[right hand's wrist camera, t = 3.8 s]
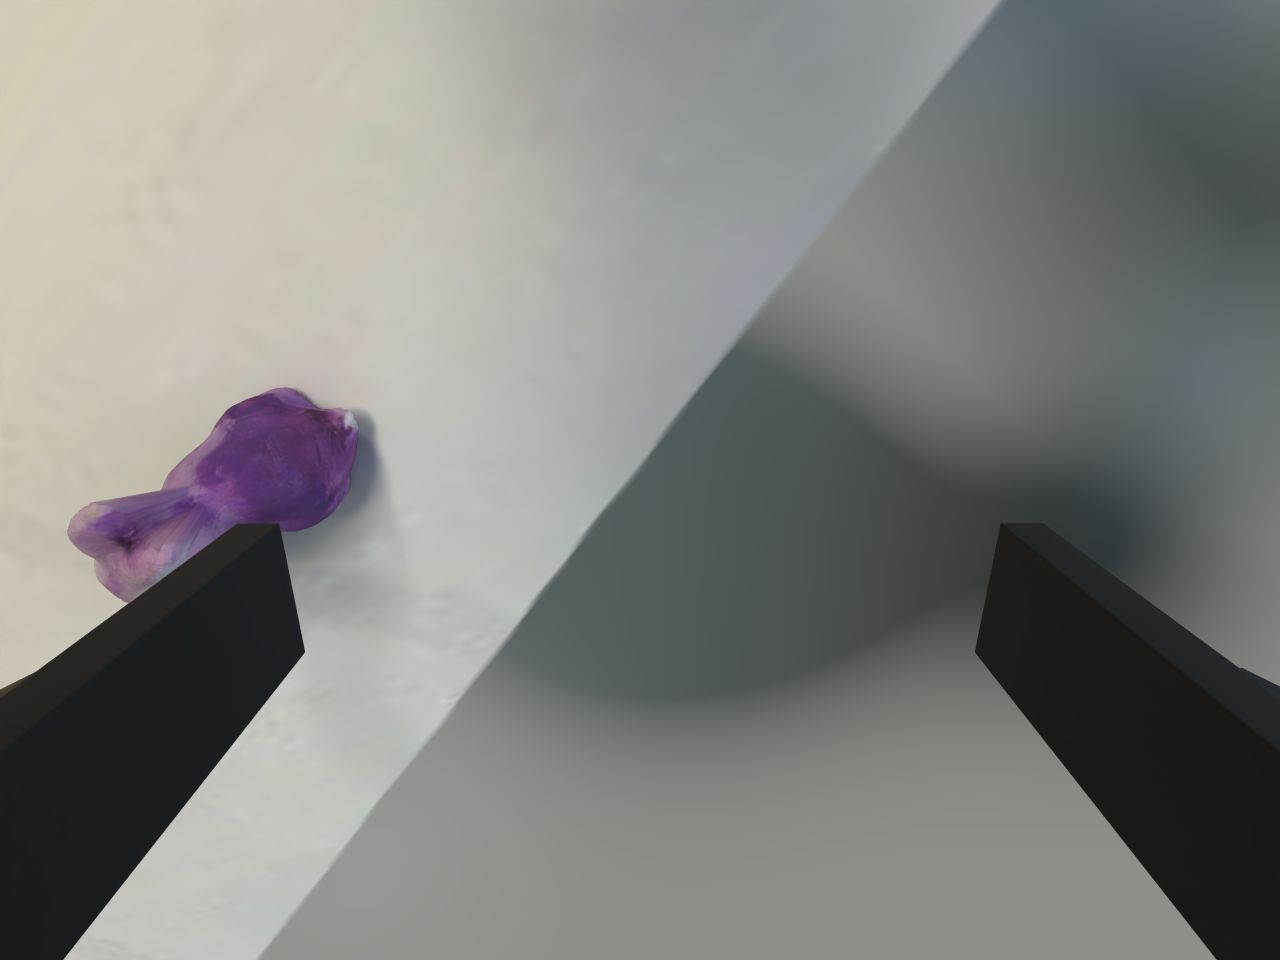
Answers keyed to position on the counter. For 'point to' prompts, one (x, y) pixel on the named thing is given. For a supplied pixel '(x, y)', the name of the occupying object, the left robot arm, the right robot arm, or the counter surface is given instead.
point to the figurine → (224, 490)
